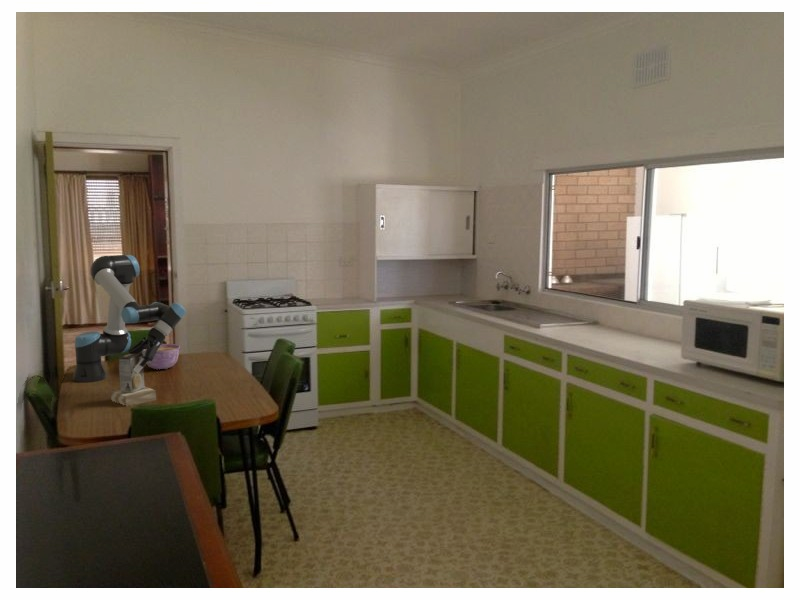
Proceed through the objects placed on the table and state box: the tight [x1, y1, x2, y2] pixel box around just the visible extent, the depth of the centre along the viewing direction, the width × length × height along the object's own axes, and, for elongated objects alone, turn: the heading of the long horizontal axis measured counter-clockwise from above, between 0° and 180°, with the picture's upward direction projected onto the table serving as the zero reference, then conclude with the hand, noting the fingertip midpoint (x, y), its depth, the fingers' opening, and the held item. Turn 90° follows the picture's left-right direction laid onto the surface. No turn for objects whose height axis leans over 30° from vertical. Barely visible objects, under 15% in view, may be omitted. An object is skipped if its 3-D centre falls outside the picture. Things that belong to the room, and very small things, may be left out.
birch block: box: [110, 386, 157, 407], centre depth 303 cm, size 14×14×5 cm
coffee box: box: [118, 352, 146, 393], centre depth 302 cm, size 9×6×16 cm
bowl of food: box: [141, 343, 181, 371], centre depth 365 cm, size 20×20×12 cm
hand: (128, 369), depth 300 cm, fingers open, 13 cm apart
